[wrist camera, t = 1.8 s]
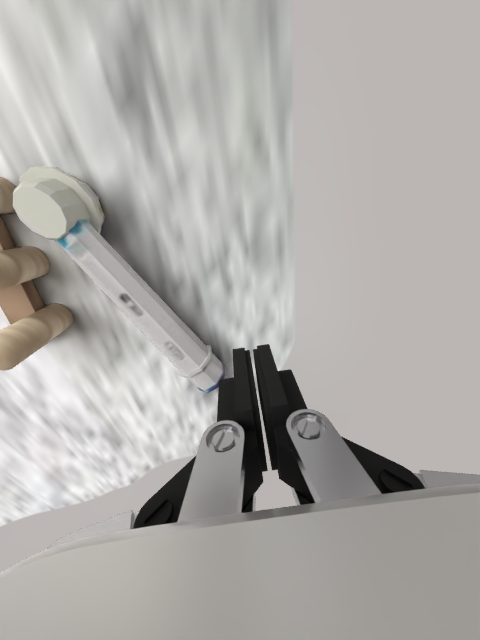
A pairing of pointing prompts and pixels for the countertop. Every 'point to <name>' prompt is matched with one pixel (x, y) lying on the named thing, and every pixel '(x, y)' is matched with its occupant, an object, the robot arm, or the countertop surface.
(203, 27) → the countertop surface
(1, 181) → the peg rack
